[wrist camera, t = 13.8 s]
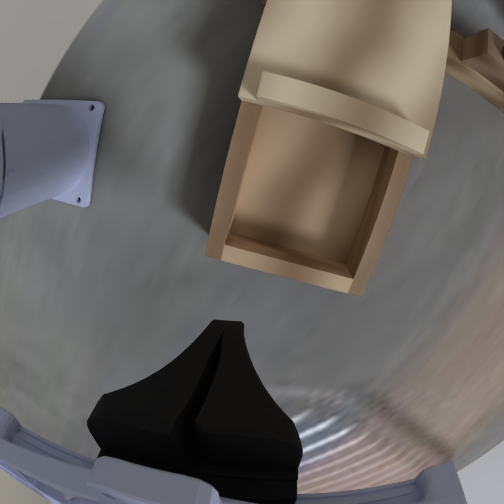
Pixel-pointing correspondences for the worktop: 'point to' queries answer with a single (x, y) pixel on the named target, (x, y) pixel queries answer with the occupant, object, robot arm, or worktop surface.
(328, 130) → the brown piece
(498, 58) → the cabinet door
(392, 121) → the lid
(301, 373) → the worktop surface
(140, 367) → the worktop surface
